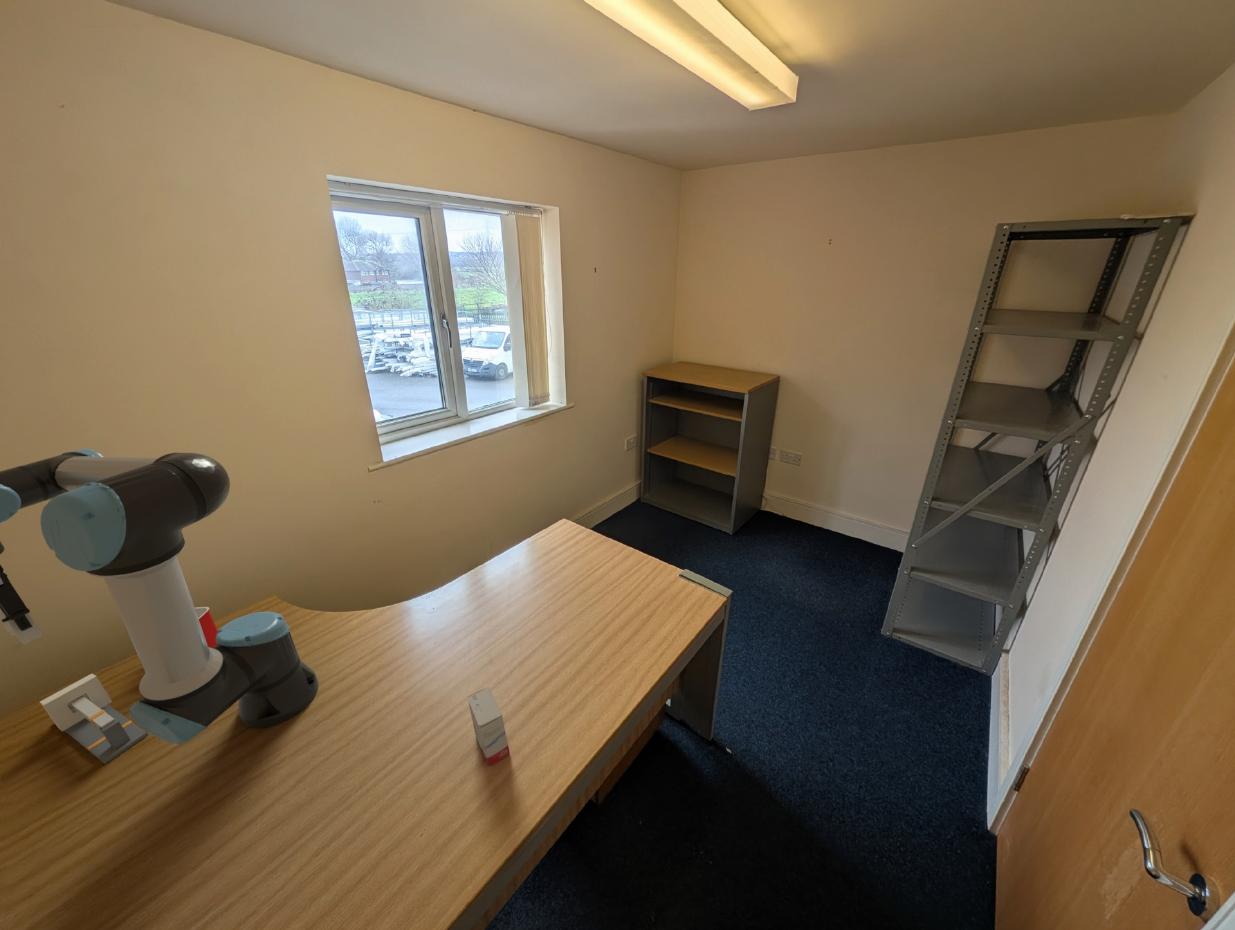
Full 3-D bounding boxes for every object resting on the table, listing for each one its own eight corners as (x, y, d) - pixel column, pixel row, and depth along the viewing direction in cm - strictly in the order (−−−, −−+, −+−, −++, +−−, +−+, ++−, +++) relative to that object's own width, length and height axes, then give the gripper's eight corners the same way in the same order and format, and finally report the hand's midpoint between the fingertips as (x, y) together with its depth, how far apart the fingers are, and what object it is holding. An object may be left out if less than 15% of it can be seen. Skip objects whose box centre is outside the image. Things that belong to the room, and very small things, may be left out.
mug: (226, 636, 125) (212, 606, 121) (203, 660, 118) (188, 628, 113) (179, 639, 124) (164, 609, 120) (154, 663, 117) (137, 631, 113)
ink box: (510, 754, 94) (504, 715, 90) (486, 768, 92) (479, 728, 87) (496, 723, 101) (490, 684, 96) (473, 734, 98) (466, 696, 94)
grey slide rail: (148, 734, 99) (134, 711, 96) (104, 764, 93) (88, 740, 90) (97, 698, 107) (83, 676, 104) (54, 722, 101) (38, 700, 98)
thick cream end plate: (112, 701, 104) (96, 676, 101) (62, 731, 97) (43, 705, 94) (107, 698, 105) (92, 673, 102) (58, 727, 98) (39, 701, 95)
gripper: (13, 542, 86) (72, 636, 95) (-24, 522, 93) (34, 612, 102) (-52, 564, 79) (17, 662, 89) (-87, 541, 86) (-19, 634, 95)
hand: (26, 635), depth 95 cm, fingers open, 5 cm apart
